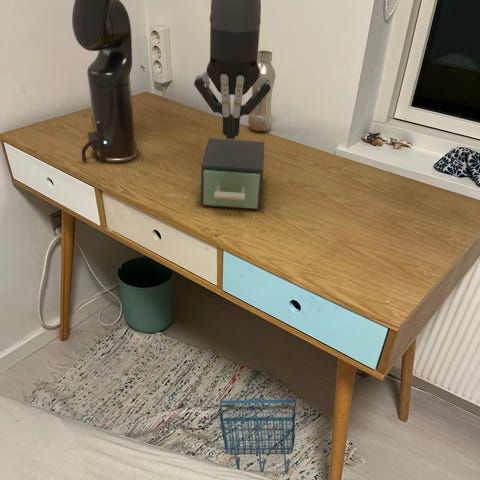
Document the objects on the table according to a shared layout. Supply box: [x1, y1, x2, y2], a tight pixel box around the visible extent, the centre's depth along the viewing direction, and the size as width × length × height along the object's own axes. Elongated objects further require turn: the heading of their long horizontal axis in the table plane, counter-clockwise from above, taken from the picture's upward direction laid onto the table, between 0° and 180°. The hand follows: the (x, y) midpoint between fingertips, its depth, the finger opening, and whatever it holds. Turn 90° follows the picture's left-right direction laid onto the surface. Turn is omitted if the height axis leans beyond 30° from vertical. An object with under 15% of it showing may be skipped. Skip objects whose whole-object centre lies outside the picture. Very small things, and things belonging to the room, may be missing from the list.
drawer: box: [203, 169, 260, 209], centre depth 107 cm, size 18×11×7 cm, turn 177°
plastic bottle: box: [247, 50, 276, 132], centre depth 137 cm, size 6×7×20 cm
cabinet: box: [200, 137, 265, 211], centre depth 110 cm, size 15×13×9 cm
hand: (230, 137), depth 88 cm, fingers closed
